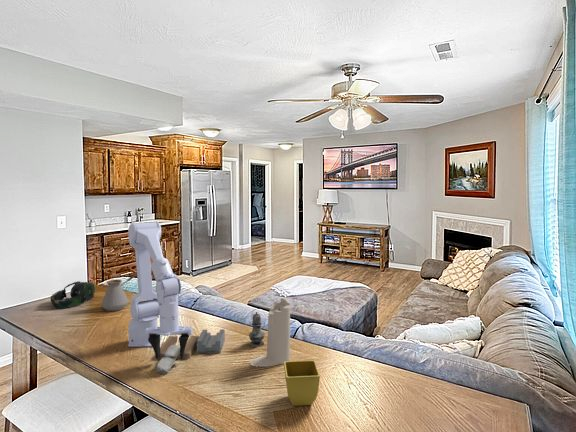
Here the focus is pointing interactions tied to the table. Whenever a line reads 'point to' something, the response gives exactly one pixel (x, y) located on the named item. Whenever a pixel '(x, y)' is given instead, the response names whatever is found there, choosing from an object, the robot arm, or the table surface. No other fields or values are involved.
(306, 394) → the flower pot
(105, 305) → the coffee pot
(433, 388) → the table surface
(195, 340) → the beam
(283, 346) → the white boot
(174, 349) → the axle
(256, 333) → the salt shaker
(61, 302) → the headphones
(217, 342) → the v block
